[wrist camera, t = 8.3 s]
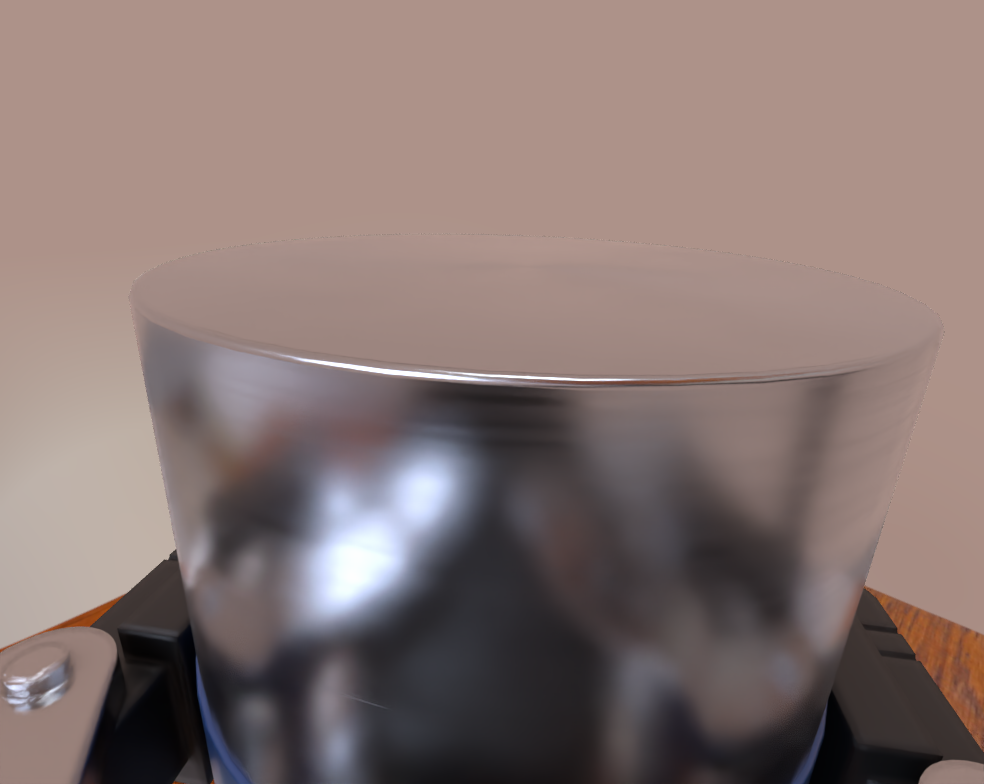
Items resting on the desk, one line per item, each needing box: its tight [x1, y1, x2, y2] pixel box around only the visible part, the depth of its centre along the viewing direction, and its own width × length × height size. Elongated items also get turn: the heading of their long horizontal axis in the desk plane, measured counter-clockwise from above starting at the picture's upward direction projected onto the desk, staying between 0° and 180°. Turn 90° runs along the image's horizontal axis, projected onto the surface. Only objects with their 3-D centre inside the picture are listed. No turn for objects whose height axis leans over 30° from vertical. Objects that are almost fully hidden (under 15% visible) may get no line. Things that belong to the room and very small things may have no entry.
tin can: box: [129, 234, 945, 784], centre depth 7 cm, size 6×6×12 cm
